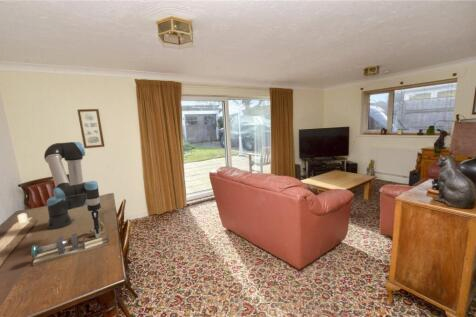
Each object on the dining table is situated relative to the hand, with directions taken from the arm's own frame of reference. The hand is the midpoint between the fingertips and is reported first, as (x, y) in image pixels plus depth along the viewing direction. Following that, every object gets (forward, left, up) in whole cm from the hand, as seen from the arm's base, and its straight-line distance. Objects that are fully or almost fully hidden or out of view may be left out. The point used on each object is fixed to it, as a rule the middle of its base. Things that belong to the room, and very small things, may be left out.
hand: (97, 234), depth 153 cm
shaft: (+15, -23, +3) cm, 28 cm away
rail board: (+15, -12, 0) cm, 19 cm away
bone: (0, 0, -1) cm, 1 cm away
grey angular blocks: (+15, -7, 0) cm, 16 cm away
